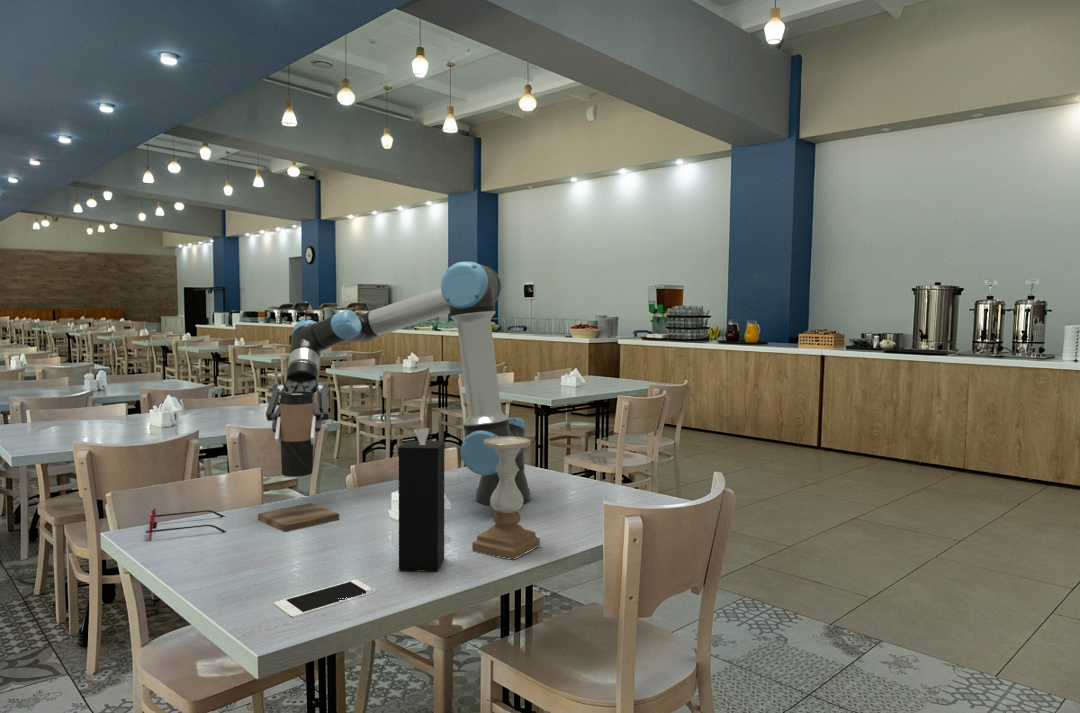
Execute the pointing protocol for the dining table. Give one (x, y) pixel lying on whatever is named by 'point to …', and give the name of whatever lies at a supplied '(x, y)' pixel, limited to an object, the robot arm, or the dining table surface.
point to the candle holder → (506, 505)
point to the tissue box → (421, 503)
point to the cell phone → (321, 597)
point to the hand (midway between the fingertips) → (294, 441)
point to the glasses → (152, 522)
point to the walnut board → (298, 517)
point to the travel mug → (296, 433)
